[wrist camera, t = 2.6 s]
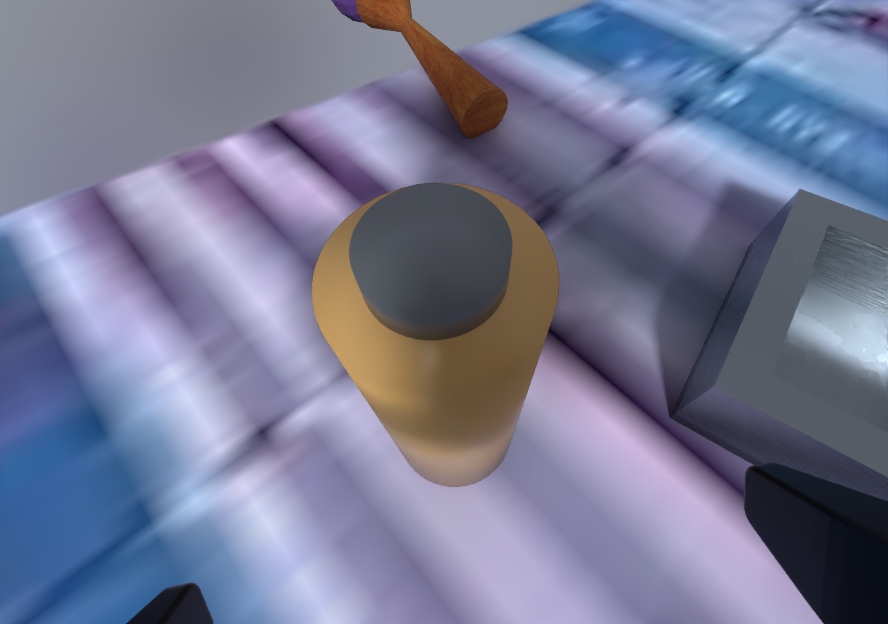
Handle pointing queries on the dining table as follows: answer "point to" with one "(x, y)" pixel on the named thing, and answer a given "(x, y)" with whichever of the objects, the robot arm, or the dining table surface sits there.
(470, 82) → the kendama
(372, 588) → the dining table surface
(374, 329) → the tan cylinder
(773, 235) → the gray square dish
